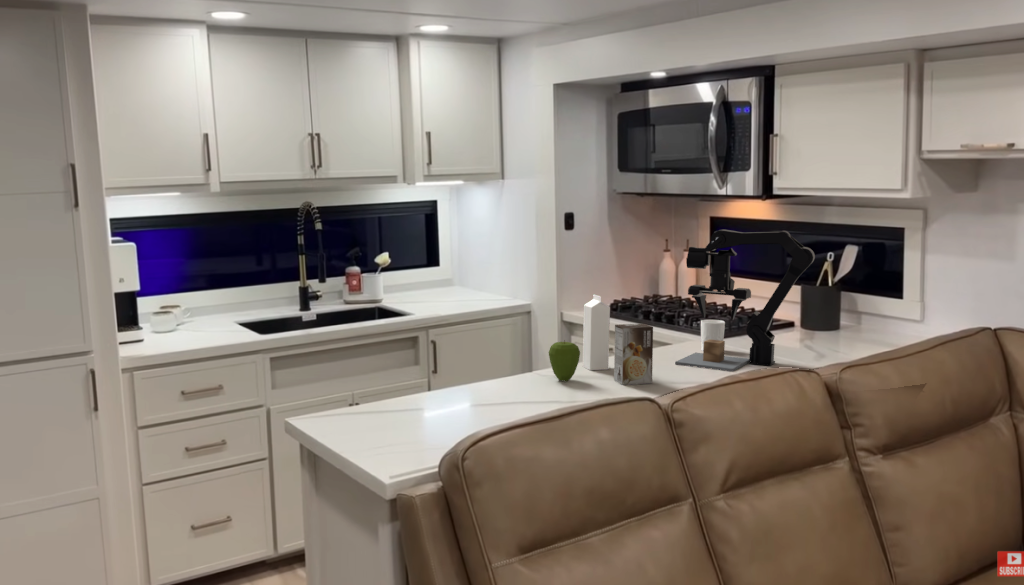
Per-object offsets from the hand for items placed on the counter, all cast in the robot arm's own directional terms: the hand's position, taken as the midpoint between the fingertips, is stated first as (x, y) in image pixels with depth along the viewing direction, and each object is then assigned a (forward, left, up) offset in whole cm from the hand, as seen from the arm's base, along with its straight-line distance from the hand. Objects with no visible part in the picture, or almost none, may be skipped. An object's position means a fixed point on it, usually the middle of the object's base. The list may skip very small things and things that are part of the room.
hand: (718, 318), depth 276 cm
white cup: (+6, -13, -13) cm, 19 cm away
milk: (+26, +34, -13) cm, 45 cm away
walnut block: (-1, +6, -12) cm, 14 cm away
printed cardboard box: (+9, +45, -13) cm, 48 cm away
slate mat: (-1, +6, -13) cm, 14 cm away
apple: (+26, +54, -13) cm, 61 cm away
